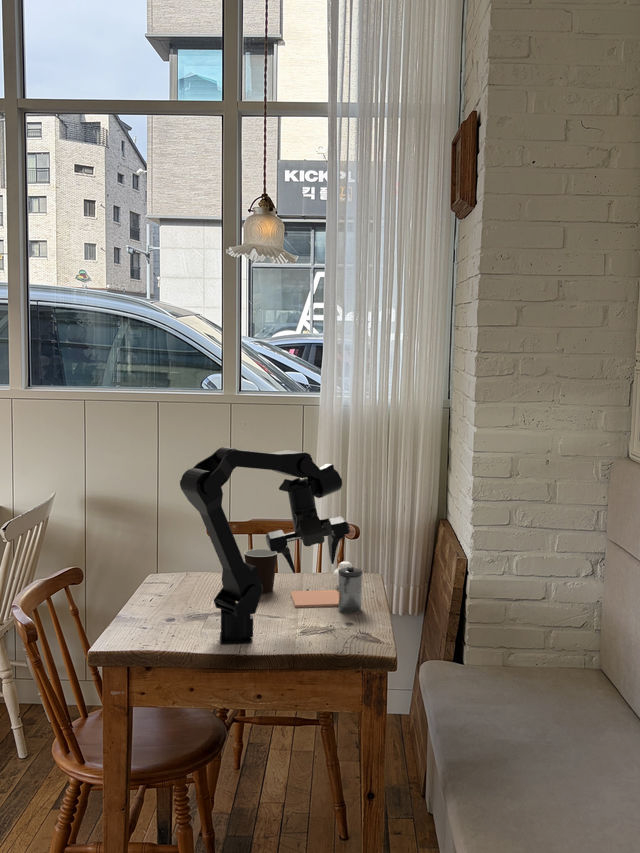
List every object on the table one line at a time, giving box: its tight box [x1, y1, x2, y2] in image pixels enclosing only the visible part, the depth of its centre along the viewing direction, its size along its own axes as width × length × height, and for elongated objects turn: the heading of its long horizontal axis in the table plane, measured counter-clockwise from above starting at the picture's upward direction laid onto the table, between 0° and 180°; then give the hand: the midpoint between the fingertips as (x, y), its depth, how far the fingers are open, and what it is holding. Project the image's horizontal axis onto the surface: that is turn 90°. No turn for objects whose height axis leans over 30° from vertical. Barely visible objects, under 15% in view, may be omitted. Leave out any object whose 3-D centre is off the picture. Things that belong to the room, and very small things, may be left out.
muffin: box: [333, 560, 353, 587], centre depth 220 cm, size 6×6×7 cm
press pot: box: [338, 566, 363, 614], centre depth 200 cm, size 6×6×10 cm
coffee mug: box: [243, 548, 278, 595], centre depth 217 cm, size 12×9×10 cm
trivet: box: [290, 589, 339, 609], centre depth 209 cm, size 12×12×1 cm
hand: (313, 568), depth 192 cm, fingers open, 9 cm apart
